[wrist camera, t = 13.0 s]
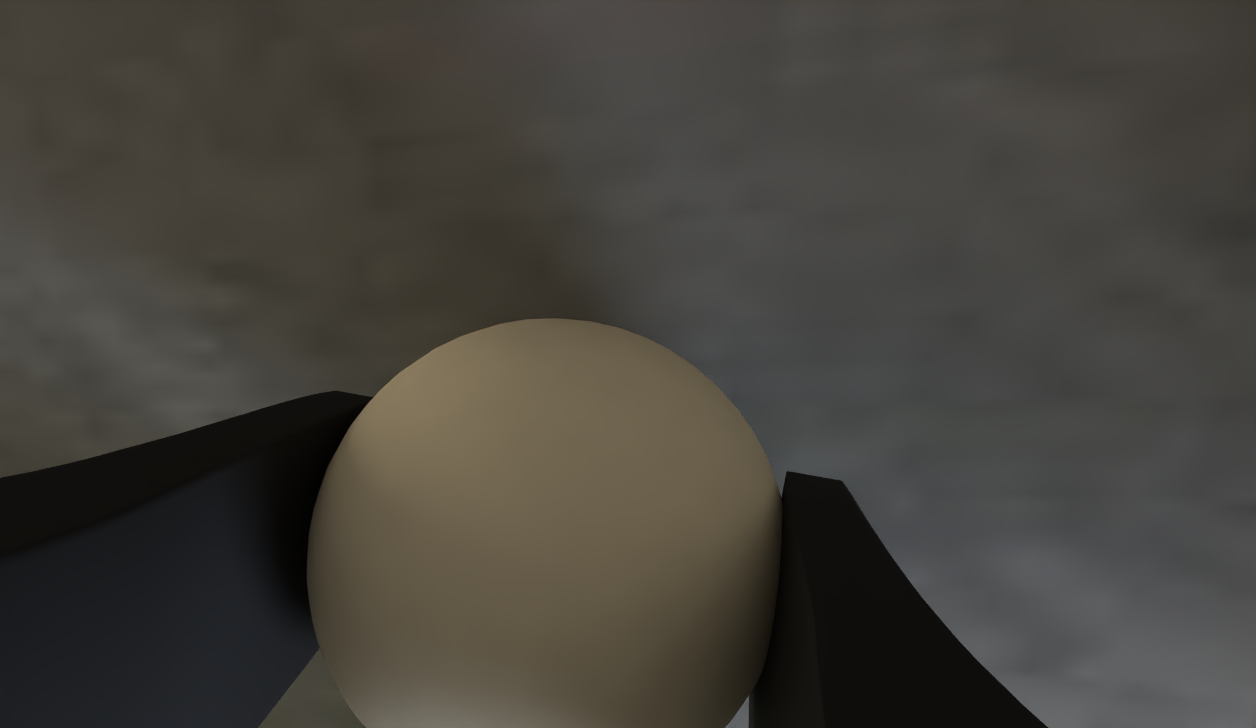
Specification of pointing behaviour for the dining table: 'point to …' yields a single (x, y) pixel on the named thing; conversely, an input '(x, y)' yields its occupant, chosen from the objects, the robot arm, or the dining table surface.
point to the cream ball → (546, 539)
